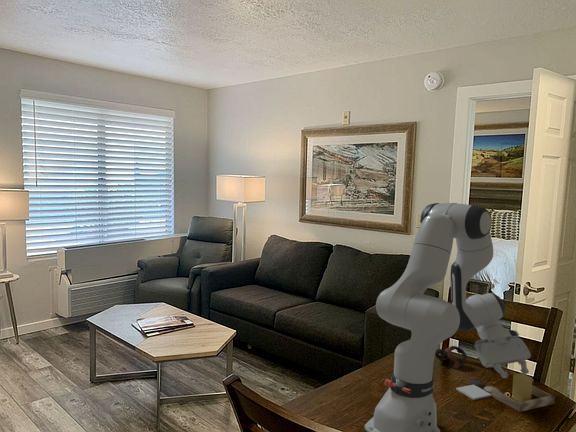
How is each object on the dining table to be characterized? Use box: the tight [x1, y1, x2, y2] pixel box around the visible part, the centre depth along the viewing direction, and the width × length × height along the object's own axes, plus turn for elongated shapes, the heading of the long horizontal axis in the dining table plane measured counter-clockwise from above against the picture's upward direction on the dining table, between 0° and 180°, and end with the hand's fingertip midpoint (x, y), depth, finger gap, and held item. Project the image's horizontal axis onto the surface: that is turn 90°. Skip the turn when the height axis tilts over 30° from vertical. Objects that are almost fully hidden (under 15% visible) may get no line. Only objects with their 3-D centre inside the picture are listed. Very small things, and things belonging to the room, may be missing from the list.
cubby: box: [491, 385, 556, 413], centre depth 148 cm, size 16×11×2 cm
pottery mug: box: [434, 345, 468, 370], centre depth 177 cm, size 12×10×8 cm
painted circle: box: [483, 385, 501, 394], centre depth 155 cm, size 5×5×1 cm
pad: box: [455, 384, 492, 401], centre depth 153 cm, size 8×8×1 cm
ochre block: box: [511, 372, 533, 402], centre depth 149 cm, size 4×4×8 cm
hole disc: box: [468, 379, 485, 388], centre depth 160 cm, size 5×5×1 cm
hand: (516, 375), depth 151 cm, fingers open, 8 cm apart
